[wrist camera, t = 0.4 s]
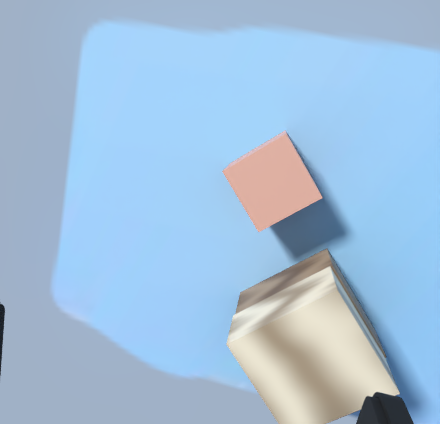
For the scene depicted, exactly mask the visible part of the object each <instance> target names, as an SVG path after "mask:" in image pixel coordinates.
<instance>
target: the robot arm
mask: <svg viewBox="0 0 440 424" xmlns="http://www.w3.org/2000/svg"><path fill="white" fill-rule="evenodd" d="M4 315H5V308H4V306H3V305H2V304H0V372H1V359H2V344H3V329H4ZM0 374H1V373H0ZM356 424H414V423H413V421H412V419H411V417H410V414H409V412H408V410H407V408H406V406H405V403H404V401H403V400H402V398H400V397H397V396H393V395H389V394H385V393H381V392H375V393H374V395H373V397H371V396H366V398H365V400H364V402H363V405H362V408H361V411H360V414H359V417H358V420H357V423H356Z"/></svg>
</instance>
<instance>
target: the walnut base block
mask: <svg viewBox="0 0 440 424" xmlns="http://www.w3.org/2000/svg"><path fill="white" fill-rule="evenodd" d="M329 266H330V267H331V269H332V270H333V272H334V274H335V275H336V277H337V279H338V280H339V282H340V284H341V285H342V287H343V289H344V290H345V292H346V294H347V295H348V297H349V299H350V300H351V302H352V303H353V305H354V307H355V308H356V310H357V312H358V313H359V315H360V317H361V318H362V320H363V322H364V323H365V325H366V327H367V328H368V330H369V332H370V333H371V335H372V337H373V338H374V340H375V342H376V343H377V345H378V347H379V348H380V350H381V352H382V353H383V355H384V357H385V358H386V355H385V352H384V350H383V348H382V345H381V343H380V340H379V338H378V336H377V333H376V331H375V329H374V327H373V326H372V324H371V322H370V321H369V319H368V317H367V316H366V314H365V312H364V310H363V309H362V307H361V305H360V304H359V302H358V300H357V299H356V297H355V295H354V293H353V292H352V290H351V288H350V287H349V285H348V283H347V282H346V280H345V278H344V276H343V275H342V273H341V271H340V270H339V268H338V266H337V265H336V263H335V261H334V259H333V258H332V256H331V254H330V253H329V251H328V249H325V250H323V251H321V252H319V253H317V254H315V255H313V256H311V257H309V258H307V259H305V260H303V261H301V262H299V263H297V264H295V265H293V266H291V267H289V268H287V269H286V270H284V271H282V272H280V273H278V274H276V275H274V276H272V277H270V278H268V279H266V280H264V281H262V282H260V283H258V284H256V285H254V286H252V287H250V288H248V289H246V290H244V291H243V292H241V293H240V296H239V300H238V305H237V309H236V313H235V314H237V313H239V312H241V311H243V310H245V309H247V308H249V307H251V306H252V305H254V304H256V303H258V302H260V301H262V300H264V299H266V298H268V297H270V296H272V295H274V294H276V293H278V292H280V291H282V290H284V289H286V288H288V287H290V286H292V285H294V284H296V283H298V282H300V281H302V280H304V279H306V278H308V277H310V276H311V275H313V274H315V273H317V272H319V271H321V270H323V269H325V268H327V267H329Z"/></svg>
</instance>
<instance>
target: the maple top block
mask: <svg viewBox="0 0 440 424" xmlns="http://www.w3.org/2000/svg"><path fill="white" fill-rule="evenodd" d="M226 345H227V346H228V348H229V349H230V351H231V352H232V354H233V355H234V357H235V358H236V360H237V361H238V363H239V364H240V366H241V367H242V369H243V370H244V372H245V373H246V375H247V376H248V378H249V379H250V381H251V382H252V384H253V385H254V387H255V389H256V390H257V392H258V393H259V395H260V396H261V398H262V399H263V400H264V402H265V404H266V405H267V407H268V408H269V410H270V411H271V413H272V414H273V416H274V417H275V419H276V420H277V422H278V423H279V424H326V423H329V422H331V421H334V420H336V419H339V418H341V417H344V416H346V415H349V414H351V413H354V412H356V411H359V410H361V408H362V405H363V402H364V400H365V398H366V396H371V397H373V395H374V393H375V392H381V393H385V394H389V395H393V396H396V395H398V394H400V392H399V390H398V387H397V385H396V383H395V380H394V378H393V375H392V373H391V371H390V368H389V366H388V363H387V361H386V359H385V357H384V355H383V353H382V352H381V350H380V348H379V347H378V345H377V343H376V342H375V340H374V338H373V337H372V335H371V333H370V332H369V330H368V328H367V327H366V325H365V323H364V322H363V320H362V318H361V317H360V315H359V313H358V312H357V310H356V308H355V307H354V305H353V303H352V302H351V300H350V299H349V297H348V295H347V294H346V292H345V290H344V289H343V287H342V285H341V284H340V282H339V280H338V279H337V277H336V275H335V274H334V272H333V270H332V269H331V267H330V266H329V267H327V268H325V269H323V270H321V271H319V272H317V273H315V274H313V275H311V276H310V277H308V278H306V279H304V280H302V281H300V282H298V283H296V284H294V285H292V286H290V287H288V288H286V289H284V290H282V291H280V292H278V293H276V294H274V295H272V296H270V297H268V298H266V299H264V300H262V301H260V302H258V303H256V304H254V305H252V306H251V307H249V308H247V309H245V310H243V311H241V312H239V313H237V314H235V315H233V319H232V323H231V327H230V331H229V335H228V340H227V344H226Z"/></svg>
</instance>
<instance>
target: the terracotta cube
mask: <svg viewBox="0 0 440 424" xmlns="http://www.w3.org/2000/svg"><path fill="white" fill-rule="evenodd" d="M222 172H223V173H224V175H225V177H226V178H227V180H228V182H229V183H230V185H231V187H232V188H233V190H234V192H235V193H236V195H237V197H238V198H239V200H240V202H241V203H242V205H243V207H244V208H245V210H246V212H247V213H248V215H249V217H250V219H251V220H252V222H253V224H254V225H255V227H256V229H257V230H258V232H260V231H262V230H264V229H266V228H267V227H269V226H271V225H273V224H275V223H277V222H279V221H280V220H282V219H284V218H286V217H288V216H290V215H292V214H294V213H295V212H297V211H299V210H301V209H303V208H305V207H307V206H308V205H310V204H312V203H314V202H316V201H318V200H320V199H321V198H322V196H321V194H320V192H319V190H318V187H317V185H316V184H315V182H314V180H313V178H312V177H311V175H310V173H309V171H308V170H307V168H306V166H305V164H304V163H303V161H302V159H301V157H300V155H299V154H298V152H297V150H296V148H295V147H294V145H293V143H292V141H291V140H290V138H289V136H288V134H287V133H286V131H284V132H282V133H280V134H278V135H277V136H275V137H273V138H272V139H270V140H268V141H267V142H265V143H263V144H262V145H260V146H258V147H257V148H255V149H253V150H252V151H250V152H248V153H246V154H245V155H243V156H241V157H240V158H238V159H236V160H235V161H233V162H231V163H230V164H229V165H228V166H227V167H226V168H225V169H224V170H223V171H222Z"/></svg>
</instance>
